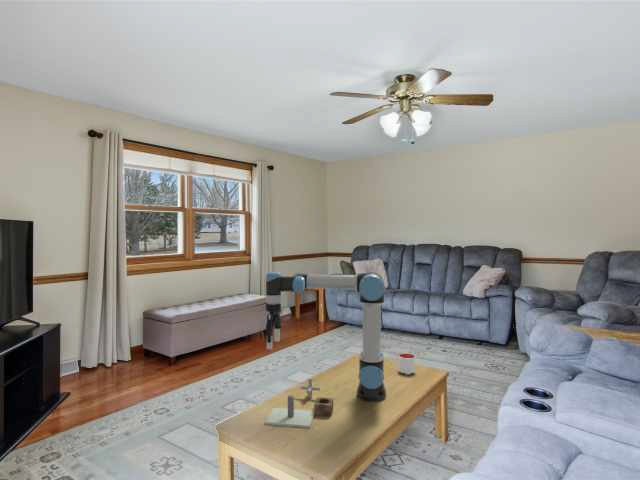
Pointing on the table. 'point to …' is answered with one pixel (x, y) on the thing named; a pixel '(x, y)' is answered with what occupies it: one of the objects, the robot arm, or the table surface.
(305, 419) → the post stand
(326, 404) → the collar
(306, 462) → the table surface
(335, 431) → the table surface
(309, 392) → the pipe connector
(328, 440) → the table surface
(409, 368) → the cup
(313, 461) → the table surface
